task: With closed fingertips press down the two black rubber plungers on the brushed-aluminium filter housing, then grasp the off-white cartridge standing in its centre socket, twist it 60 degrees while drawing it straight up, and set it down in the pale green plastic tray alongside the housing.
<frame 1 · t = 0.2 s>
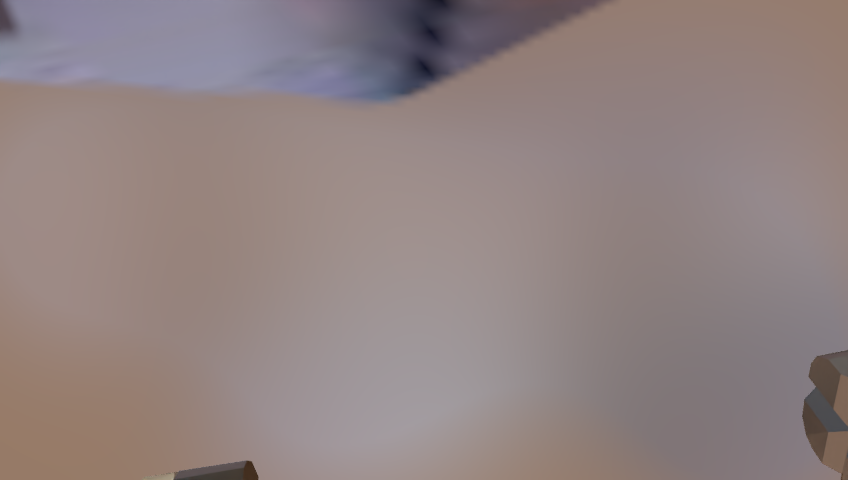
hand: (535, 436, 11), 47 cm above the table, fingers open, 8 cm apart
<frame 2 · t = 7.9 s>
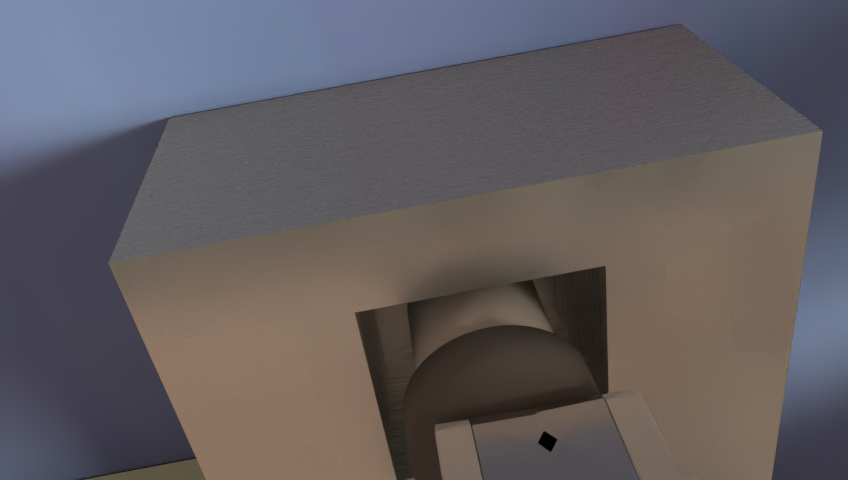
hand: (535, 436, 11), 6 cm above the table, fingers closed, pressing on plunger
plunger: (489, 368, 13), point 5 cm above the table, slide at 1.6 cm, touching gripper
filter housing: (485, 458, 21), on the table
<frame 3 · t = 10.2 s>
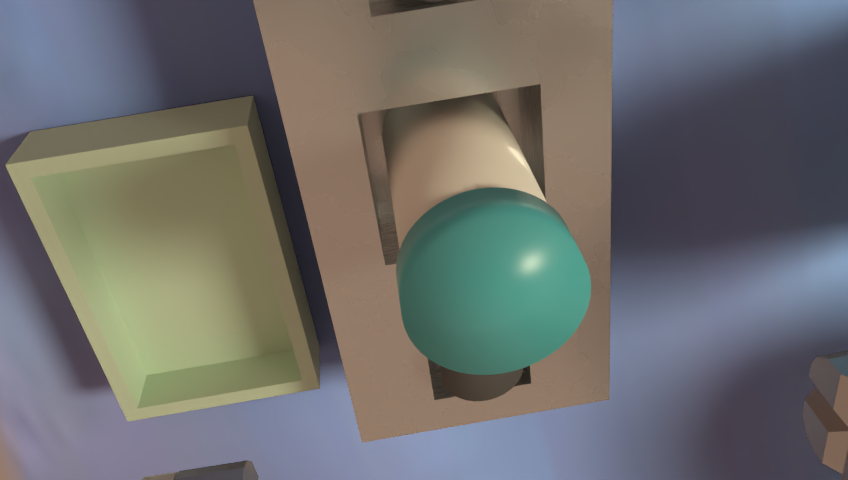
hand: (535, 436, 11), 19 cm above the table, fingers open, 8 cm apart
filter housing: (438, 117, 29), on the table
tray: (190, 251, 31), on the table
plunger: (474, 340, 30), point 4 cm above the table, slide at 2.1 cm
cartridge: (443, 134, 28), point 1 cm above the table, touching filter housing
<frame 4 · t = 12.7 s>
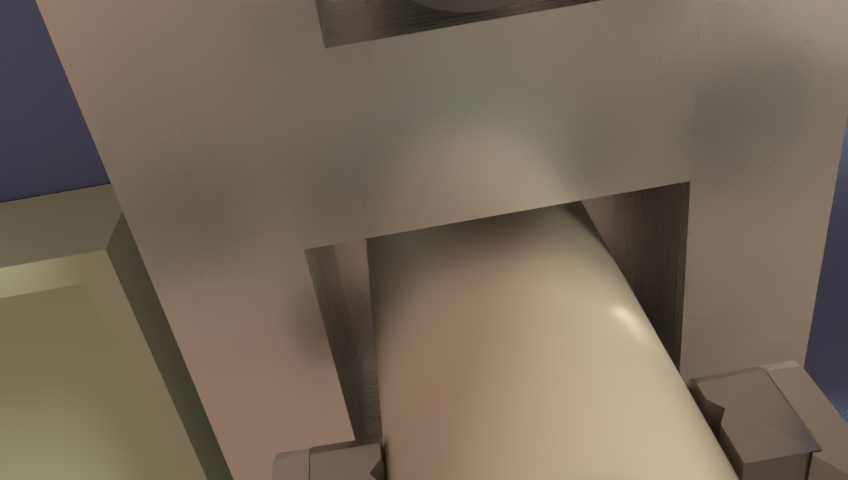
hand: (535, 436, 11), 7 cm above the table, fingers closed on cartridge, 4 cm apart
filter housing: (465, 207, 17), on the table
tray: (57, 423, 19), on the table
cartridge: (477, 244, 15), point 2 cm above the table, touching filter housing, gripper
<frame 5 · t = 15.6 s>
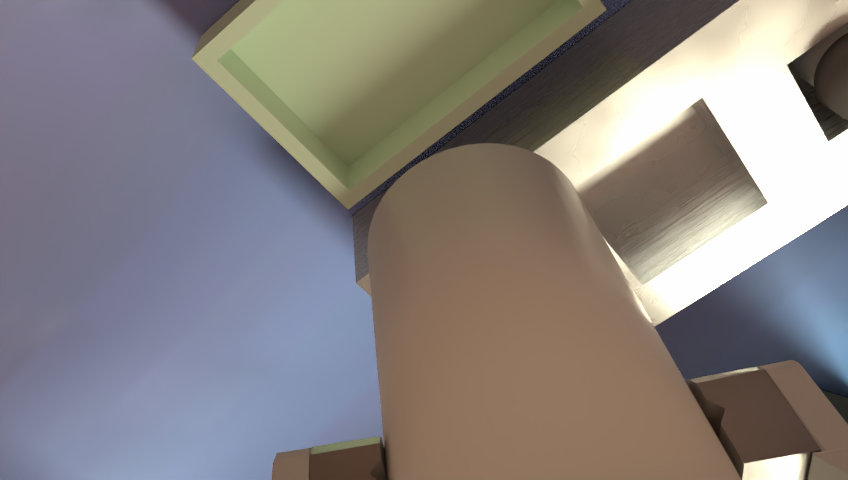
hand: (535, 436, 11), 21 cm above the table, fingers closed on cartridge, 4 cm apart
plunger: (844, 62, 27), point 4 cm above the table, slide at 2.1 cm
bottle: (778, 444, 45), on the table
filter housing: (626, 140, 33), on the table
tray: (395, 12, 29), on the table
cartridge: (477, 243, 15), point 16 cm above the table, touching gripper
when the fingers open (7 cm above the table, at t = 18.6 s): cartridge drops 1 cm, resting on tray.
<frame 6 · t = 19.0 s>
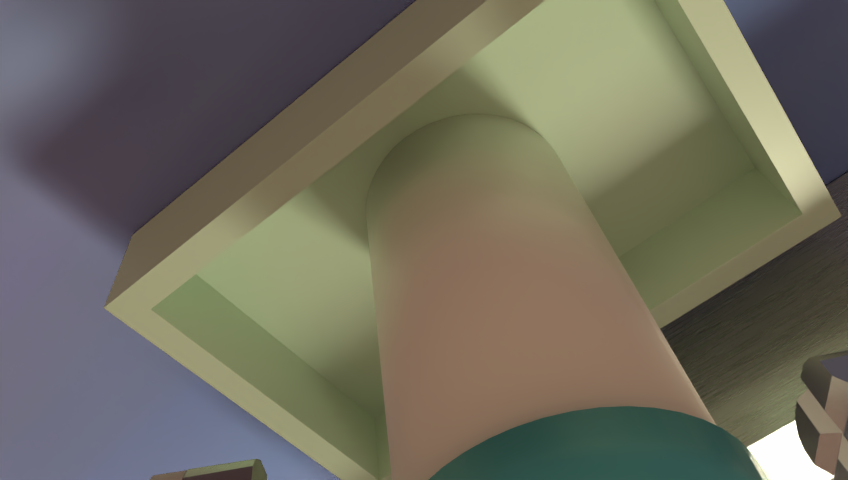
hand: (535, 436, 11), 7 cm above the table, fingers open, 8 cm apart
filter housing: (804, 363, 21), on the table
tray: (461, 195, 17), on the table
cartridge: (468, 209, 17), point 1 cm above the table, touching tray
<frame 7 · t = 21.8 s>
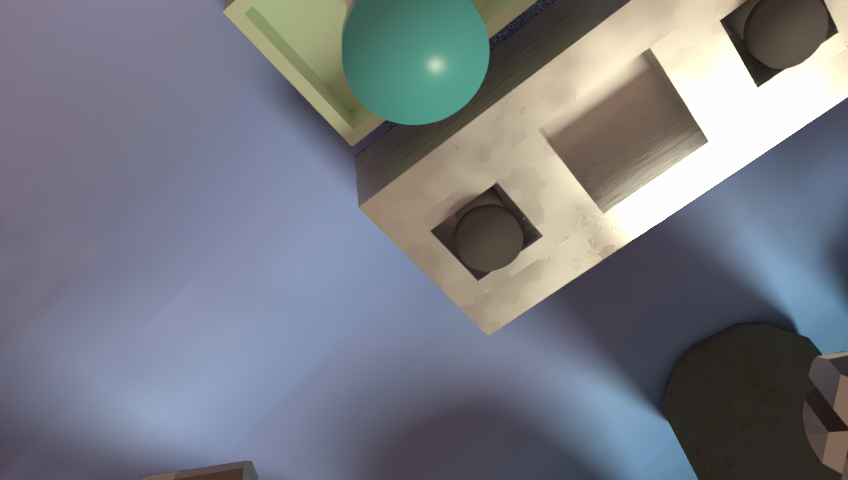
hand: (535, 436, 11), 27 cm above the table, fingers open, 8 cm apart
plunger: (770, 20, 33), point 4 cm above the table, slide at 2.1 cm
bottle: (733, 377, 50), on the table
filter housing: (591, 93, 38), on the table
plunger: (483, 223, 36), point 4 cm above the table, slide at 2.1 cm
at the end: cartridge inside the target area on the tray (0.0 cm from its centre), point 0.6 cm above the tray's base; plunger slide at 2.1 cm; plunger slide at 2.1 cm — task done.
